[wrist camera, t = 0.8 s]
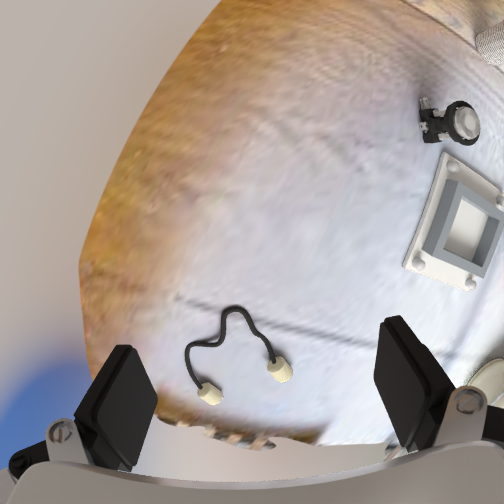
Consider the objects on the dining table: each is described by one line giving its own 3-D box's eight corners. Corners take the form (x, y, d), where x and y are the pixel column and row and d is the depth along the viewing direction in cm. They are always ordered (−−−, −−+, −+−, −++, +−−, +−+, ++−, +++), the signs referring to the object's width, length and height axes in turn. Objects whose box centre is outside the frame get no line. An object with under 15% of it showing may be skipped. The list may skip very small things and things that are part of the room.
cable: (159, 338, 44) (153, 351, 40) (247, 296, 41) (246, 308, 38) (212, 399, 48) (209, 412, 45) (294, 368, 45) (296, 382, 42)
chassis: (441, 152, 33) (457, 153, 29) (501, 194, 34) (516, 198, 31) (401, 266, 39) (413, 276, 35) (466, 289, 40) (478, 299, 36)
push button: (405, 100, 31) (445, 88, 22) (434, 98, 31) (476, 89, 21) (416, 146, 33) (459, 147, 24) (444, 142, 33) (488, 144, 23)
